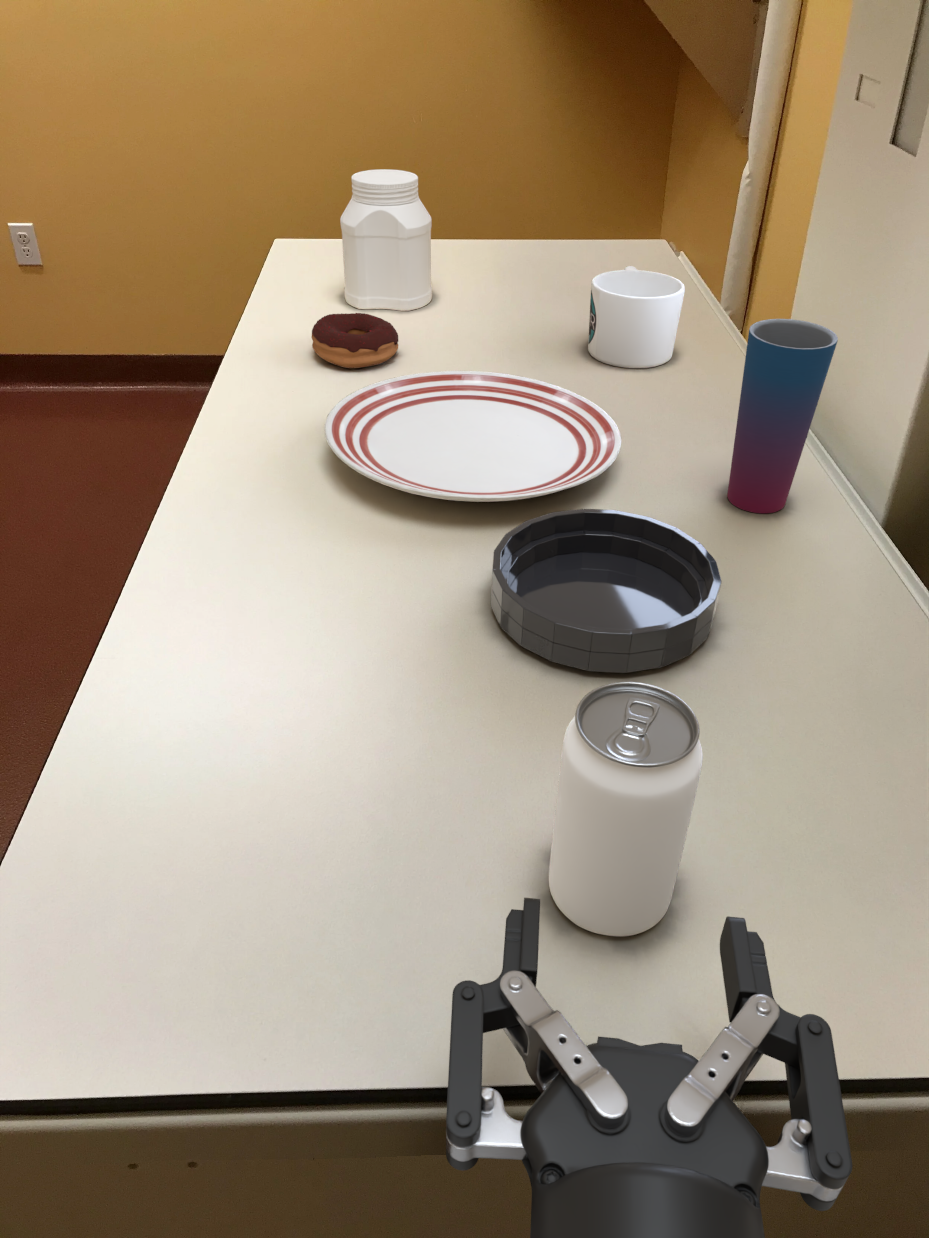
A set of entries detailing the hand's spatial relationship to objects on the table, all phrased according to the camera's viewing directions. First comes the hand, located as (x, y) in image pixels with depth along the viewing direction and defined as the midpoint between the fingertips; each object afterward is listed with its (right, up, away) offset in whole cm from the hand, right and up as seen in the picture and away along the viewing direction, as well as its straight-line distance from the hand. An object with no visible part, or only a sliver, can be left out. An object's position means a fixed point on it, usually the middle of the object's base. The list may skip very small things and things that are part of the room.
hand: (629, 918), depth 41 cm
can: (+1, -2, +10) cm, 10 cm away
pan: (+3, +14, +30) cm, 33 cm away
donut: (-20, +43, +70) cm, 84 cm away
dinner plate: (-6, +28, +50) cm, 58 cm away
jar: (-17, +55, +86) cm, 104 cm away
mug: (+12, +45, +73) cm, 86 cm away
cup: (+19, +23, +44) cm, 53 cm away
